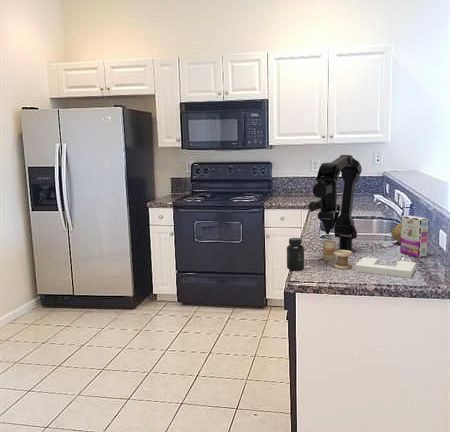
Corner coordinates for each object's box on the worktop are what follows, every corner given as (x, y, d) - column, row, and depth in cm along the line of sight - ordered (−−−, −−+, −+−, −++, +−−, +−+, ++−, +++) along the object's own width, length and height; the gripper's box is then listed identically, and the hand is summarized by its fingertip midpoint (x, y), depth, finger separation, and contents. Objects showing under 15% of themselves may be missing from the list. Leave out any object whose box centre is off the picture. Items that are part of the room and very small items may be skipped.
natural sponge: (388, 244, 224) (389, 223, 223) (395, 241, 231) (396, 220, 229) (407, 247, 219) (408, 225, 217) (414, 243, 225) (415, 222, 224)
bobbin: (336, 263, 195) (336, 249, 194) (353, 265, 191) (354, 250, 190) (331, 267, 189) (331, 253, 188) (349, 270, 185) (349, 254, 184)
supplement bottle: (302, 265, 193) (302, 236, 191) (305, 270, 186) (305, 240, 184) (285, 266, 193) (285, 237, 190) (288, 271, 186) (288, 241, 184)
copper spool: (324, 257, 204) (325, 239, 203) (336, 259, 202) (337, 240, 200) (321, 260, 200) (321, 241, 198) (333, 262, 197) (333, 243, 196)
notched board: (363, 263, 194) (363, 257, 194) (415, 268, 185) (416, 262, 184) (354, 271, 183) (355, 265, 183) (410, 278, 174) (410, 271, 173)
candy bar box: (428, 256, 202) (429, 218, 199) (418, 258, 200) (420, 219, 197) (408, 251, 212) (409, 214, 209) (399, 252, 210) (400, 215, 207)
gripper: (314, 190, 206) (314, 225, 209) (304, 197, 189) (305, 235, 192) (340, 190, 202) (340, 227, 205) (333, 198, 185) (333, 237, 188)
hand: (329, 231), depth 198 cm, fingers open, 9 cm apart
